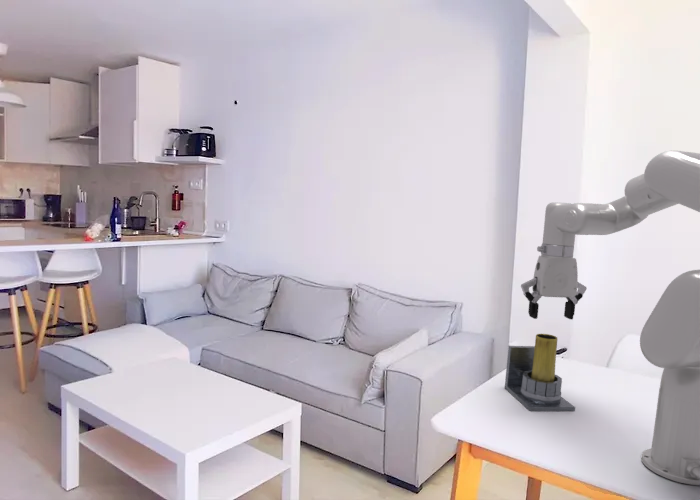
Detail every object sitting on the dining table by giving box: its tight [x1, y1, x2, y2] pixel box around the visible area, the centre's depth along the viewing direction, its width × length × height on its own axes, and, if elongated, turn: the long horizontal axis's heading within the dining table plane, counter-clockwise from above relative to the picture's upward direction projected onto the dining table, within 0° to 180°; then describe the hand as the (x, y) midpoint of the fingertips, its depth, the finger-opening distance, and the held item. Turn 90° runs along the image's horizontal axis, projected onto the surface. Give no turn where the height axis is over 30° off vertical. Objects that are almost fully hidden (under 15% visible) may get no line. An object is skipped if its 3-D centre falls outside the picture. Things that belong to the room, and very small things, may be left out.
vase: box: [531, 333, 558, 382], centre depth 138 cm, size 6×6×14 cm
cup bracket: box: [504, 345, 576, 412], centre depth 140 cm, size 15×12×12 cm
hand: (550, 317), depth 136 cm, fingers open, 9 cm apart
